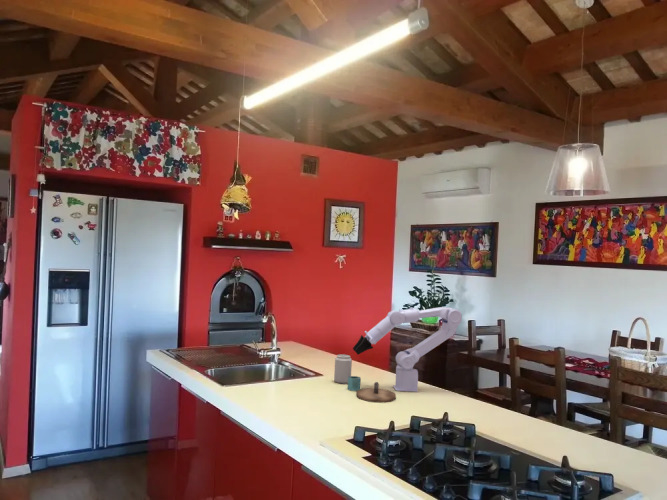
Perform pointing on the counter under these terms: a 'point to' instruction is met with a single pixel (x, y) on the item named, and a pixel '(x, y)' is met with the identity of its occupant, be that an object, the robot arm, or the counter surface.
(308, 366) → the counter surface
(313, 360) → the counter surface
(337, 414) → the counter surface
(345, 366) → the can
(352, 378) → the collar
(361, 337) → the robot arm
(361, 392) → the stand
